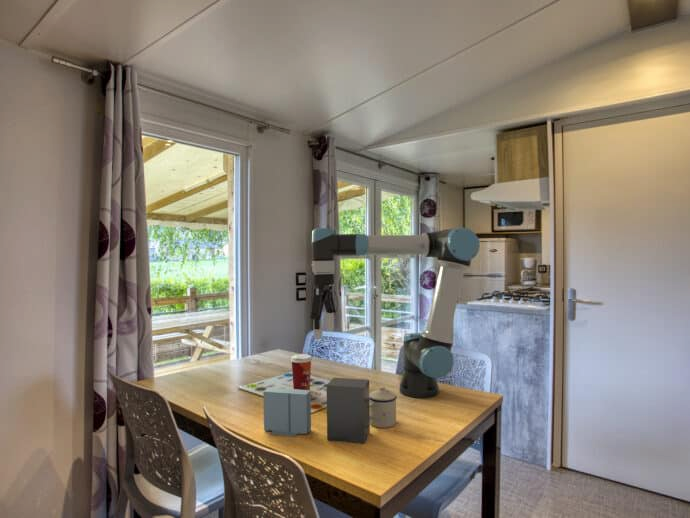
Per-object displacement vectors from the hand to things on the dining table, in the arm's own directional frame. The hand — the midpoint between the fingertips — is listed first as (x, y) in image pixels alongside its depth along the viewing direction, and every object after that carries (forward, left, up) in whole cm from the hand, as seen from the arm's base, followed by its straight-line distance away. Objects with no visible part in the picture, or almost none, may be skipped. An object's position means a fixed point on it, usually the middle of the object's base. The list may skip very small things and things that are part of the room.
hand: (324, 334), depth 145 cm
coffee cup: (+14, -15, -27) cm, 34 cm away
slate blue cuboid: (+7, +17, -26) cm, 32 cm away
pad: (+7, +17, -27) cm, 32 cm away
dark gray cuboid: (-12, +17, -27) cm, 34 cm away
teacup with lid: (-20, +6, -27) cm, 34 cm away
